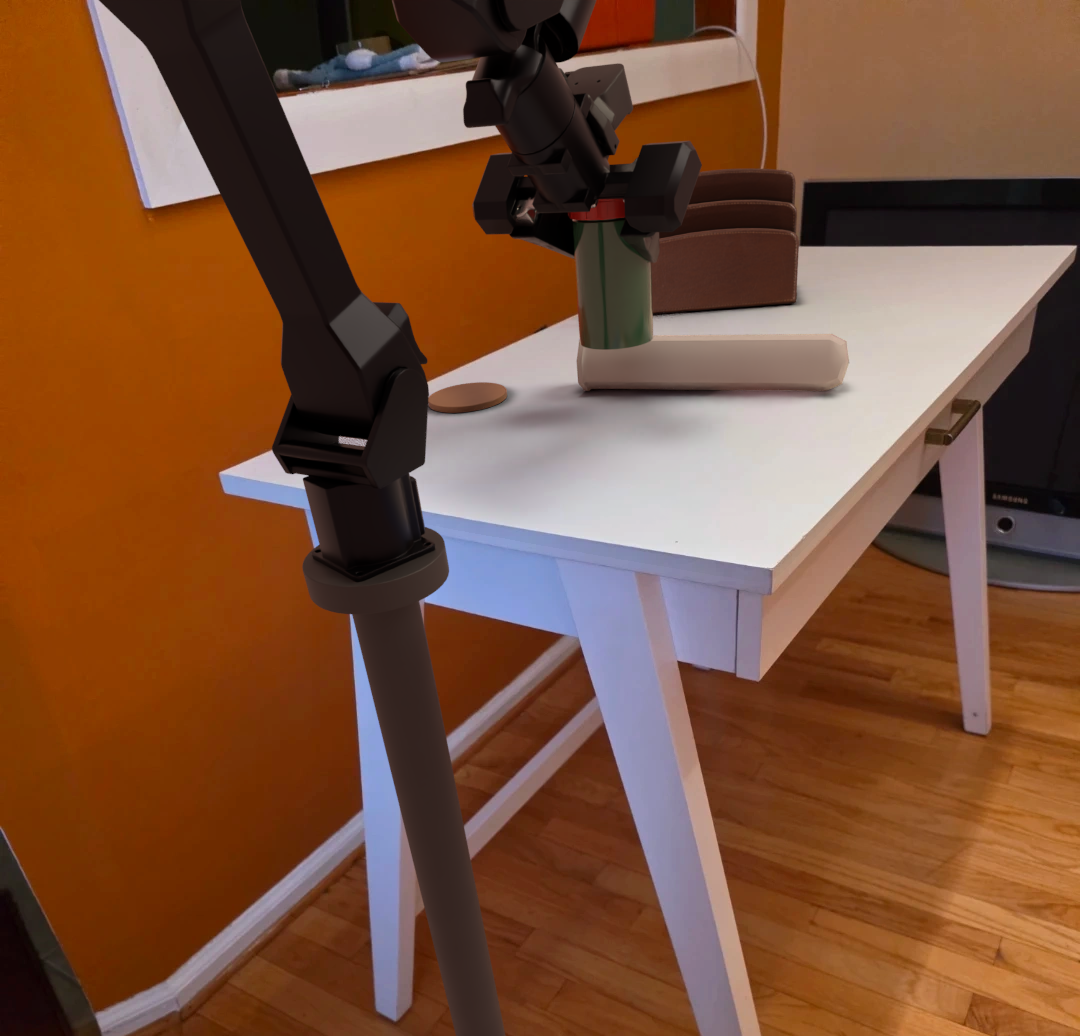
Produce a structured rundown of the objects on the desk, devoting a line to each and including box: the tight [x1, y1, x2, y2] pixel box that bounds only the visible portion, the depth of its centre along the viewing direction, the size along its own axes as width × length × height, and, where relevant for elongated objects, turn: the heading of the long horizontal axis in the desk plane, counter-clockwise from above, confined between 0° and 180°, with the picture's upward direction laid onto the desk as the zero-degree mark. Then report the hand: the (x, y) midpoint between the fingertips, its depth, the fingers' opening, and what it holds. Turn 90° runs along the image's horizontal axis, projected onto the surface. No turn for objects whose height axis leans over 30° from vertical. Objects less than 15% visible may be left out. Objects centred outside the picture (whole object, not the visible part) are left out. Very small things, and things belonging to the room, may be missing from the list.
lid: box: [568, 198, 625, 220], centre depth 79 cm, size 7×7×2 cm
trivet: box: [428, 381, 508, 414], centre depth 96 cm, size 8×8×1 cm
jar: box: [572, 217, 654, 350], centre depth 82 cm, size 7×7×11 cm
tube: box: [576, 333, 850, 392], centre depth 89 cm, size 5×5×25 cm
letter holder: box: [651, 168, 800, 315], centre depth 116 cm, size 10×20×14 cm, turn 82°
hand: (620, 257), depth 83 cm, fingers closed on jar, 6 cm apart
